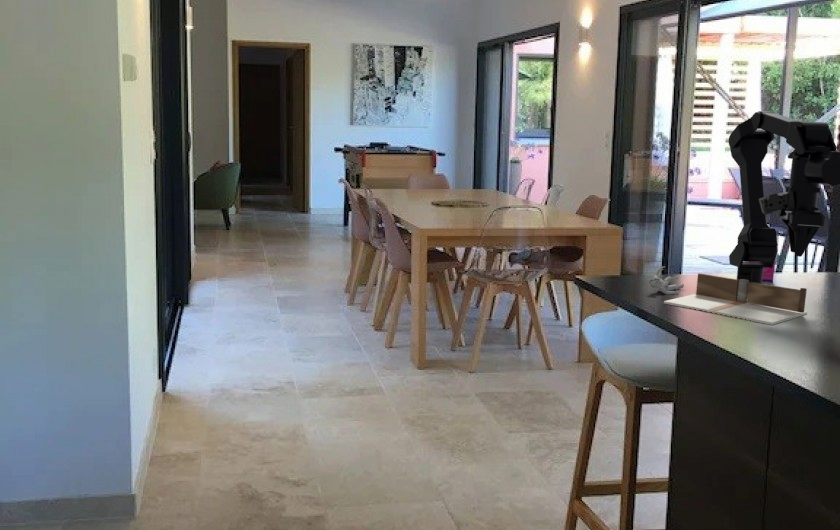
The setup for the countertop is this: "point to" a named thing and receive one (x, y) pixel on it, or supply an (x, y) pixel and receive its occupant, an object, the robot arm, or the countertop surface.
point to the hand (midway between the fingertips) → (796, 254)
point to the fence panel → (777, 296)
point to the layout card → (735, 309)
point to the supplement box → (767, 273)
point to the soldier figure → (665, 283)
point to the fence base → (722, 287)
